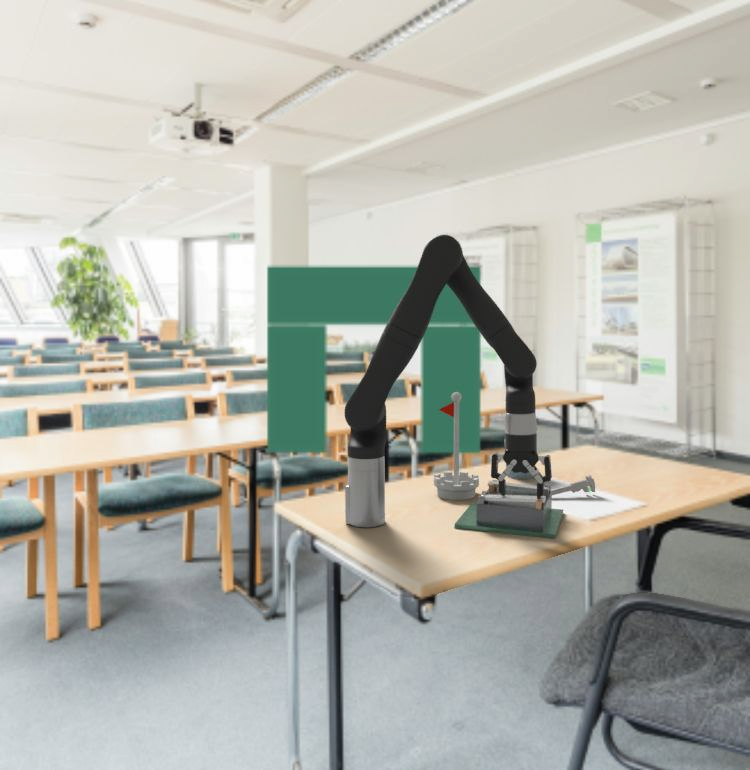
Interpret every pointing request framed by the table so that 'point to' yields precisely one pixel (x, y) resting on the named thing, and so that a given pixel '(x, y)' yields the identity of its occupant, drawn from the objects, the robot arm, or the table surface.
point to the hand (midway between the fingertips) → (521, 496)
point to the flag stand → (455, 464)
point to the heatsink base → (472, 524)
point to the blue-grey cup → (519, 474)
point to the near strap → (513, 498)
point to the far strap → (517, 486)
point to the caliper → (576, 486)
